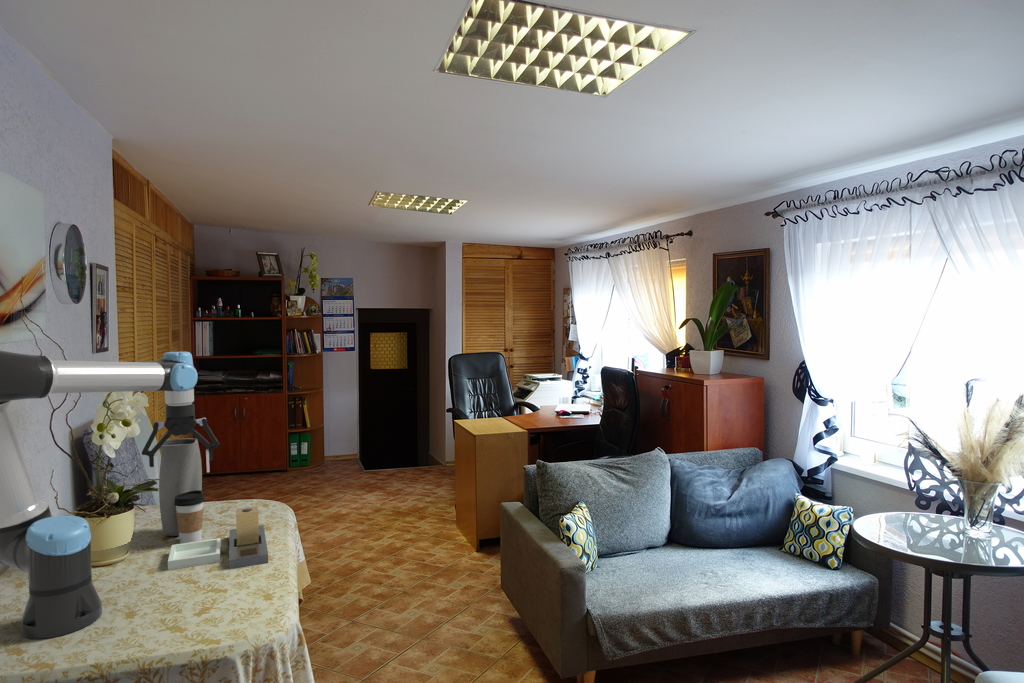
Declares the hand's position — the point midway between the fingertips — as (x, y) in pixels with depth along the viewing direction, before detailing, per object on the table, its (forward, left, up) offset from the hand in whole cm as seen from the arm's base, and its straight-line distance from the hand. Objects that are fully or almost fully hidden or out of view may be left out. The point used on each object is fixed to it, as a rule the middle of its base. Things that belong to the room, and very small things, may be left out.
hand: (182, 474), depth 180 cm
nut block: (-7, -17, -23) cm, 30 cm away
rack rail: (-7, -17, -23) cm, 30 cm away
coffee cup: (+8, -1, -23) cm, 25 cm away
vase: (+17, +2, -23) cm, 29 cm away
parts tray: (-7, -3, -23) cm, 24 cm away
